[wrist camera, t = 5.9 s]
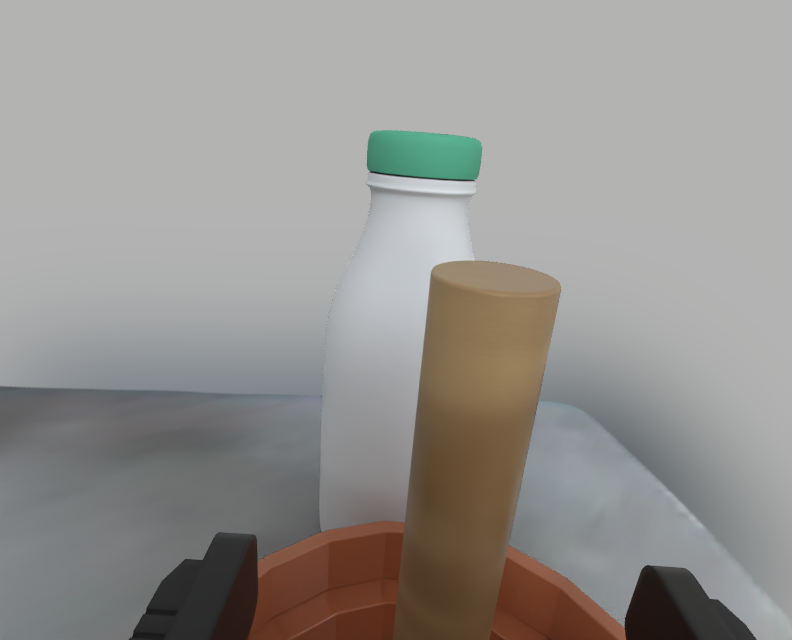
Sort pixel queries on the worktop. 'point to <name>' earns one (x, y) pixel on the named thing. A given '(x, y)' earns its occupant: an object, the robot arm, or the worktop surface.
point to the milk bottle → (388, 320)
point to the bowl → (378, 584)
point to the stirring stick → (470, 442)
